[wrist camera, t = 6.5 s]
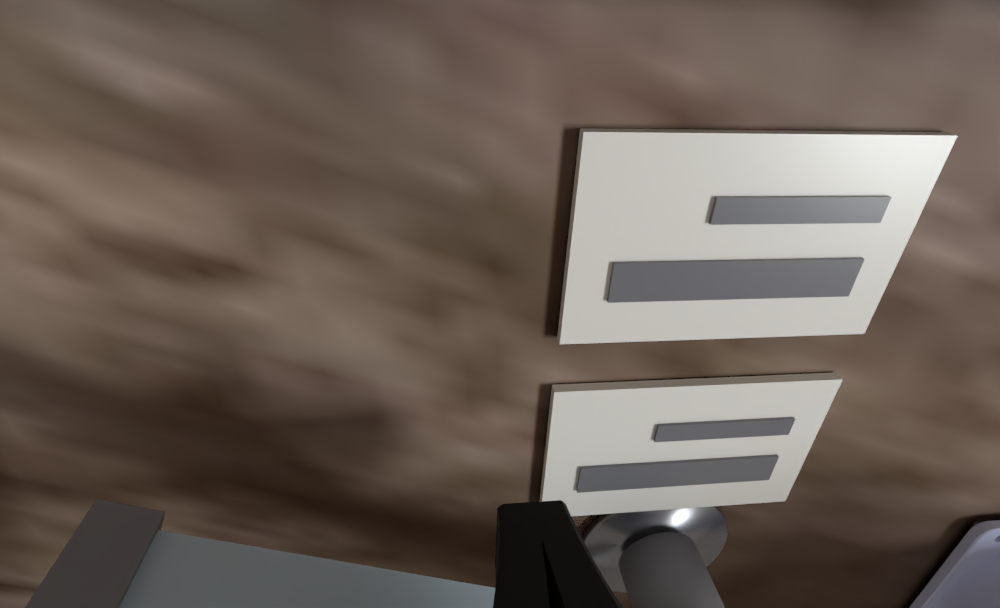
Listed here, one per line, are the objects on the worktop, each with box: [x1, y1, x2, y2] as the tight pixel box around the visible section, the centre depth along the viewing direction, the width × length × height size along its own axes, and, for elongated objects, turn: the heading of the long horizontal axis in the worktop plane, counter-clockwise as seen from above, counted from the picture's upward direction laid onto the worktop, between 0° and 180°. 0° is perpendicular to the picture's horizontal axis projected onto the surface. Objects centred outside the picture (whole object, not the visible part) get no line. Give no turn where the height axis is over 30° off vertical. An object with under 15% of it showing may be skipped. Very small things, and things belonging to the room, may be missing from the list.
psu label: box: [557, 128, 957, 344], centre depth 12 cm, size 8×5×1 cm, turn 88°
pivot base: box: [582, 506, 728, 593], centre depth 18 cm, size 5×5×1 cm
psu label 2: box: [539, 372, 843, 516], centre depth 15 cm, size 8×5×1 cm, turn 88°
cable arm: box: [25, 499, 725, 608], centre depth 13 cm, size 16×3×5 cm, turn 64°
